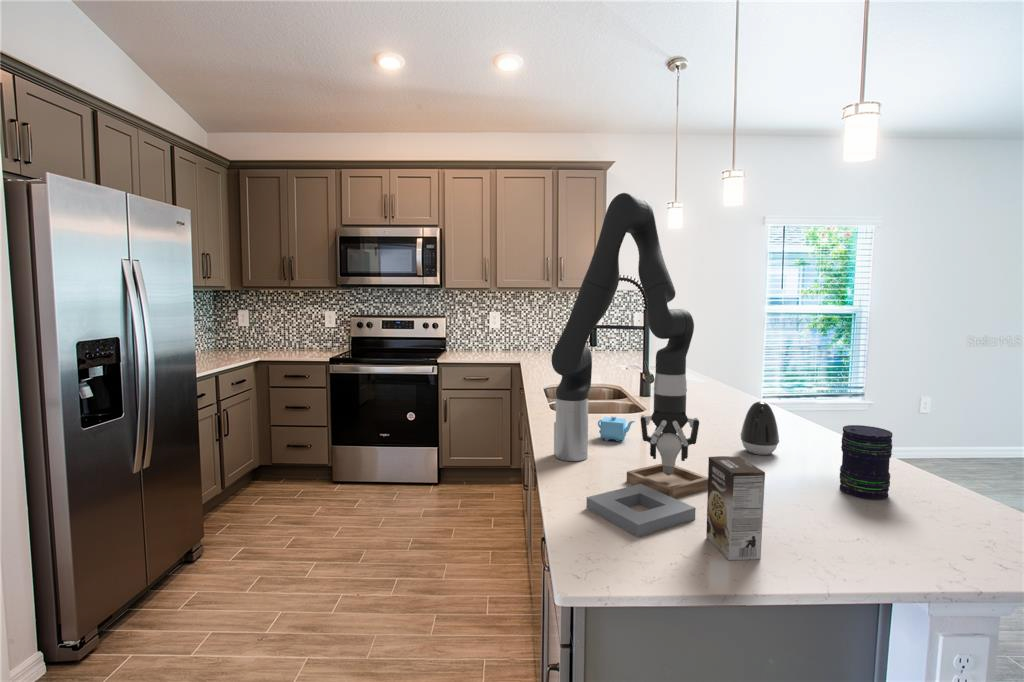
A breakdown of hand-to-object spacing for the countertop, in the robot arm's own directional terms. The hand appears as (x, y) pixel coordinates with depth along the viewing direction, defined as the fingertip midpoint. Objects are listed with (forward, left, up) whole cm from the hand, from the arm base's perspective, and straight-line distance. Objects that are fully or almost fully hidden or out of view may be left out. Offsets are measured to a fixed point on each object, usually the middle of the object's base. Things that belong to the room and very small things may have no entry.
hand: (668, 458), depth 129 cm
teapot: (-37, +16, -7) cm, 41 cm away
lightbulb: (0, 0, -4) cm, 4 cm away
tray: (0, 0, -6) cm, 6 cm away
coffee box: (+29, -14, -7) cm, 33 cm away
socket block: (+9, -18, -6) cm, 21 cm away
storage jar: (+27, +36, -7) cm, 45 cm away
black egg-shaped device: (-5, +43, -7) cm, 44 cm away
